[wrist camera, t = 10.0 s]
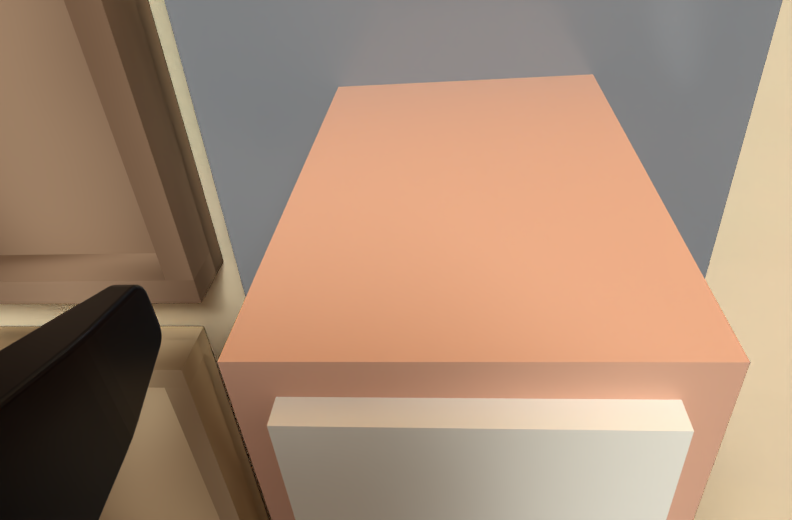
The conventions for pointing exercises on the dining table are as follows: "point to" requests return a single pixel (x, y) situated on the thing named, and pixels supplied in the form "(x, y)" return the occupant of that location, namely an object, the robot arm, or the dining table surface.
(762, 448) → the dining table surface
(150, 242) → the walnut tray
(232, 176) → the slate tile
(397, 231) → the letter block
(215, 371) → the oak tray
